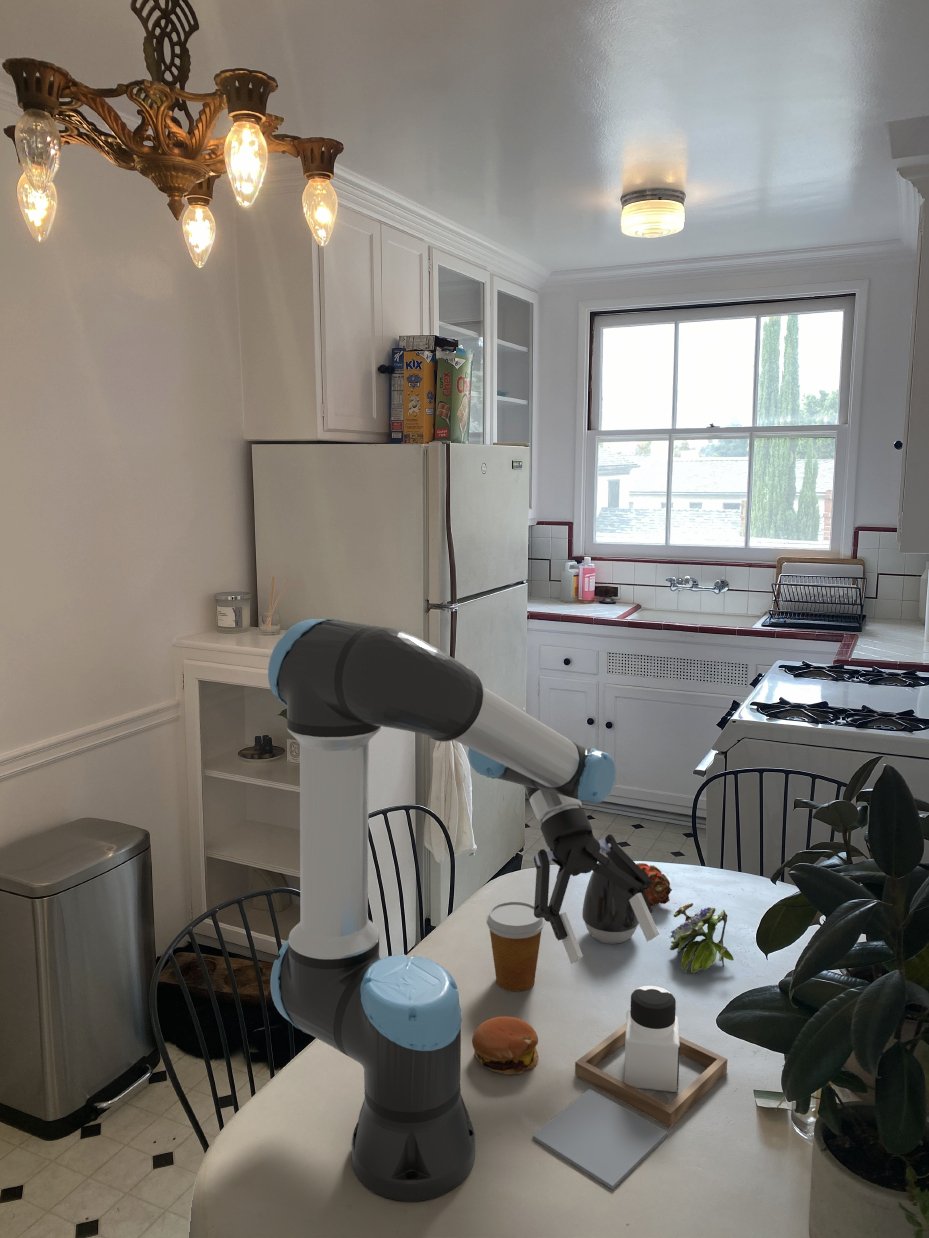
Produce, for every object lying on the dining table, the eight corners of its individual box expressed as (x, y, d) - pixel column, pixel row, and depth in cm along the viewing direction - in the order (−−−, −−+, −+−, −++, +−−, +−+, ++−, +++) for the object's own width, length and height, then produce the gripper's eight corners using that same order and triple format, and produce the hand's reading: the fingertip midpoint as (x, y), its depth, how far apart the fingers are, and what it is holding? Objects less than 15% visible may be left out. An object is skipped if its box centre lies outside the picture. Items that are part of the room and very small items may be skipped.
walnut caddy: (670, 1127, 115) (670, 1113, 115) (575, 1075, 125) (575, 1061, 125) (726, 1071, 126) (727, 1058, 126) (635, 1027, 136) (635, 1015, 136)
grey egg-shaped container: (648, 931, 165) (650, 852, 163) (626, 956, 156) (628, 873, 154) (596, 917, 170) (598, 840, 168) (572, 941, 162) (573, 860, 160)
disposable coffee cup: (515, 1004, 142) (515, 933, 141) (474, 979, 150) (474, 911, 148) (556, 982, 149) (557, 913, 147) (515, 959, 156) (515, 894, 154)
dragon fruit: (671, 922, 171) (617, 912, 179) (686, 884, 176) (633, 876, 184) (654, 896, 167) (600, 887, 175) (670, 858, 172) (616, 851, 180)
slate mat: (612, 1189, 105) (612, 1185, 105) (532, 1138, 113) (532, 1135, 113) (667, 1135, 114) (667, 1132, 114) (589, 1091, 122) (589, 1088, 122)
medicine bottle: (678, 1094, 122) (680, 1011, 120) (624, 1087, 123) (626, 1005, 121) (676, 1060, 128) (679, 982, 127) (625, 1054, 130) (627, 977, 128)
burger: (482, 1032, 135) (482, 1004, 135) (543, 1042, 133) (544, 1013, 132) (465, 1074, 126) (465, 1043, 125) (530, 1085, 124) (531, 1054, 123)
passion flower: (681, 979, 159) (686, 909, 164) (743, 986, 153) (746, 914, 158) (656, 968, 151) (662, 895, 156) (720, 975, 145) (724, 899, 150)
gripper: (615, 813, 151) (671, 937, 141) (483, 841, 140) (533, 977, 129) (635, 793, 146) (695, 920, 135) (500, 820, 135) (553, 961, 124)
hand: (616, 948), depth 132 cm, fingers open, 13 cm apart
